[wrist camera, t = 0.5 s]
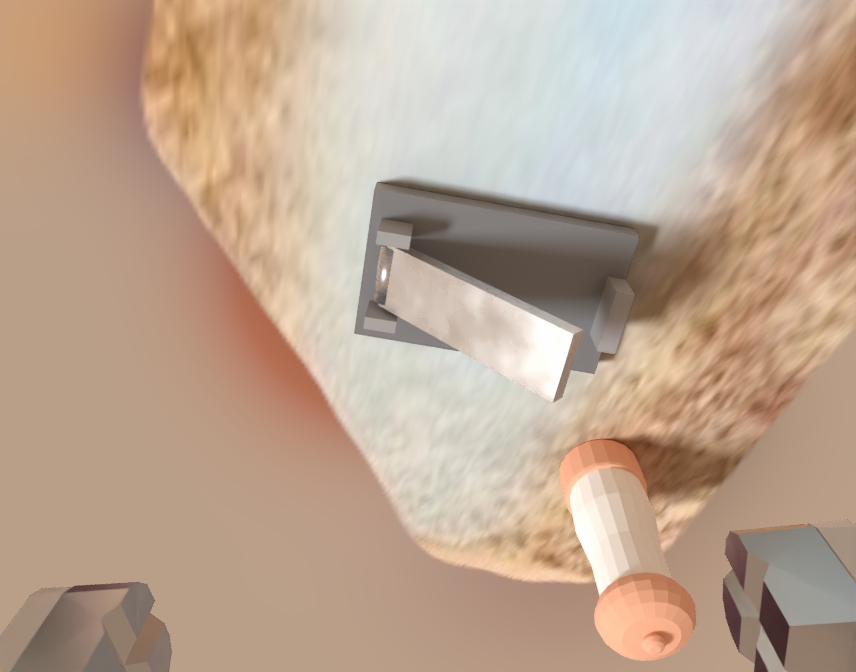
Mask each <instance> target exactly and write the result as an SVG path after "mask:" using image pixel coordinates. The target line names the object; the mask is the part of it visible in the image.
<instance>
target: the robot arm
mask: <svg viewBox="0 0 856 672" xmlns="http://www.w3.org/2000/svg"><path fill="white" fill-rule="evenodd" d="M725 555H726V557H727V559H728V561H729V563H730V565H731V567H732V570H731V571H730V572H729V573H728V574H727V575H726V576H725V578H724V579H723V603H724V609H725V615H726V620H727V623H728V626H729V629H730V632H731V635H732V637H733V640H734V642H735V644H736V647H737V649H738V651H739V653H741V654H742V655H743V656H745V657H746V658H748V659H749V660H750V661H752V662H753V663H754V664H755V666H754V672H856V524H855V523H853V522H851V521H850V520H838V521H828V522H818V523H808V524H807V525H805V524H800V525H790V526H779V527H769V528H758V529H747V530H737V531H730V532H729V534H728V536H727V538H726V548H725ZM154 602H155V600H154V597H153V596H152V594H151V592H150V589H149V587H148V585H147V584H144V583H140V582H129V583H112V584H95V585H78V586H73V587H58V588H41V589H40V590H38V591H36V592H35V593H33V594H31V595H30V596H29V597H28V599H27V600H26V601H25V603H24V604H23V606H22V607H21V608H20V610H19V611H18V612H17V614H16V615H15V616H14V618H13V619H12V620H11V622H10V623H9V625H8V626H7V627H6V629H5V630H4V632H3V633H2V634H1V636H0V672H169V669H170V661H171V654H172V649H171V643H170V635H169V633H168V630H167V628H166V625H165V624H164V623H163V622H162V621H161V620H159V619H158V618H156V617H155V616H154V615H152V614H151V613H150V611H151V609H152V606H153V604H154Z"/></svg>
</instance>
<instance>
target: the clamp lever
mask: <svg viewBox="0 0 856 672" xmlns="http://www.w3.org/2000/svg"><path fill="white" fill-rule="evenodd" d="M373 301H374V302H376V303H378V304H379V305H378V306H380V307H382V308H384V309H386V310H387V311H389V312H391V313H393V314H395V315H396V316H398V317H400V318H402V319H403V320H405V321H407V322H409V323H411V324H412V325H414V326H416V327H418V328H420V329H421V330H423V331H425V332H427V333H428V334H430V335H432V336H434V337H436V338H437V339H439V340H441V341H443V342H445V343H446V344H448V345H450V346H452V347H453V348H455V349H457V350H459V351H461V352H462V353H464V354H466V355H468V356H470V357H471V358H473V359H475V360H477V361H478V362H480V363H482V364H484V365H486V366H487V367H489V368H491V369H493V370H495V371H496V372H498V373H500V374H502V375H503V376H505V377H507V378H509V379H511V380H512V381H514V382H516V383H518V384H520V385H521V386H523V387H525V388H527V389H528V390H530V391H532V392H534V393H536V394H537V395H539V396H541V397H543V398H545V399H546V400H548V401H550V402H552V403H553V402H555V401H557V400H559V399H560V398H562V396H563V393H564V390H565V387H566V383H567V380H568V377H569V374H570V371H571V367H572V364H573V361H574V358H575V355H576V351H577V348H578V345H579V342H580V339H581V335H582V332H583V329H580V328H578V327H576V326H574V325H572V324H570V323H568V322H566V321H564V320H562V319H559V318H557V317H555V316H553V315H551V314H549V313H547V312H545V311H543V310H541V309H538V308H536V307H534V306H532V305H530V304H528V303H526V302H524V301H522V300H520V299H518V298H515V297H513V296H511V295H509V294H507V293H505V292H503V291H501V290H499V289H497V288H494V287H492V286H490V285H488V284H486V283H484V282H482V281H480V280H478V279H476V278H473V277H471V276H469V275H467V274H465V273H463V272H461V271H459V270H457V269H455V268H452V267H450V266H448V265H446V264H444V263H442V262H440V261H438V260H436V259H434V258H431V257H429V256H427V255H425V254H423V253H421V252H419V251H417V250H415V249H413V248H410V247H409V250H407V249H401V248H395V247H390V246H384V245H381V248H380V255H379V261H378V268H377V275H376V281H375V288H374V294H373Z"/></svg>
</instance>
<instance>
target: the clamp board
mask: <svg viewBox="0 0 856 672" xmlns="http://www.w3.org/2000/svg"><path fill="white" fill-rule="evenodd" d="M639 238H640V236H639V235H638V234H637V232H636V231H635V230H634V229H633V228H628V227H623V226H617V225H612V224H606V223H601V222H595V221H589V220H584V219H578V218H573V217H567V216H562V215H556V214H551V213H545V212H540V211H534V210H528V209H523V208H517V207H512V206H506V205H501V204H495V203H490V202H484V201H479V200H473V199H468V198H462V197H456V196H451V195H445V194H440V193H434V192H429V191H423V190H418V189H412V188H407V187H401V186H395V185H390V184H384V183H379V182H377V184H376V187H375V190H374V197H373V204H372V211H371V218H370V225H369V233H368V240H367V247H366V254H365V261H364V268H363V275H362V282H361V290H360V297H359V304H358V311H357V318H356V325H355V332H354V334H360V335H366V336H371V337H377V338H383V339H389V340H395V341H401V342H407V343H413V344H419V345H425V346H431V347H437V348H443V349H449V350H455V351H459V350H457V349H455V348H453V347H452V346H450V345H448V344H446V343H445V342H443V341H441V340H439V339H437V338H436V337H434V336H432V335H430V334H428V333H427V332H425V331H423V330H421V329H420V328H418V327H416V326H414V325H412V324H411V323H409V322H407V321H405V320H403V319H402V318H400V317H398V316H396V315H395V314H393V313H391V312H389V311H387V310H386V309H384V308H382V307H380V306H378V305H379V304H378V303H376V302H374V301H373V294H374V288H375V281H376V275H377V268H378V261H379V255H380V248H381V245H384V246H390V247H395V248H401V249H407V250H409V247H410V248H413V249H415V250H417V251H419V252H421V253H423V254H425V255H427V256H429V257H431V258H434V259H436V260H438V261H440V262H442V263H444V264H446V265H448V266H450V267H452V268H455V269H457V270H459V271H461V272H463V273H465V274H467V275H469V276H471V277H473V278H476V279H478V280H480V281H482V282H484V283H486V284H488V285H490V286H492V287H494V288H497V289H499V290H501V291H503V292H505V293H507V294H509V295H511V296H513V297H515V298H518V299H520V300H522V301H524V302H526V303H528V304H530V305H532V306H534V307H536V308H538V309H541V310H543V311H545V312H547V313H549V314H551V315H553V316H555V317H557V318H559V319H562V320H564V321H566V322H568V323H570V324H572V325H574V326H576V327H578V328H580V329H583V332H582V335H581V339H580V342H579V345H578V348H577V351H576V355H575V358H574V361H573V364H572V367H571V370H574V371H580V372H586V373H592V374H595V371H596V368H597V364H598V361H599V358H600V355H601V352H604V353H610V354H615V353H616V350H617V347H618V344H619V341H620V338H621V335H622V333H623V330H624V327H625V324H626V321H627V318H628V315H629V312H630V309H631V306H632V303H633V300H634V297H635V294H634V292H633V290H632V289H631V287H630V286H629V284H628V282H627V281H626V277H627V274H628V271H629V268H630V265H631V262H632V259H633V256H634V253H635V250H636V247H637V244H638V241H639Z"/></svg>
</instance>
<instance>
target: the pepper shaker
mask: <svg viewBox="0 0 856 672" xmlns="http://www.w3.org/2000/svg"><path fill="white" fill-rule="evenodd" d="M559 475H560V482H561V486H562V491H563V495H564V499H565V504H566V506H567V508H568V510H569V511H570V513H571V514H572V515H573V519H574V525H575V530H576V534H577V536H578V538H579V540H580V542H581V544H582V547H583V549H584V551H585V553H586V555H587V557H588V559H589V561H590V563H591V565H592V569H593V573H594V577H595V580H596V584H597V588H598V592H599V595H600V597H599V600H598V603H597V606H596V609H595V615H594V618H595V625H596V628H597V630H598V632H599V634H600V635H601V637H602V638H603V639H604V641H605V643H606V644H607V645H608V646H610V647H611V648H612V649H613V650H615V651H616V652H618V653H619V654H621V655H622V656H625V657H627V658H630V659H633V660H642V661H648V660H657V659H661V658H664V657H667V656H670V655H672V654H674V653H676V652H677V651H679V650H681V649H682V648H683V647H684V646H685V645H686V644H687V643H688V641H689V640H690V637H691V635H692V633H693V630H694V628H695V625H696V611H695V604H694V602H693V600H692V598H691V596H690V594H689V593H688V592H687V591H686V590H685V589H684V588H683V587H682V586H680V585H679V584H678V583H677V582H676V581H674V580H673V579H672V577H671V574H670V572H669V569H668V566H667V564H666V561H665V558H664V556H663V553H662V550H661V546H660V540H659V534H658V528H657V523H656V517H655V513H654V510H653V508H652V506H651V504H650V502H649V499H648V497H647V495H648V492H647V483H646V481H645V478H644V476H643V473H642V471H641V468H640V466H639V464H638V461H637V459H636V457H635V455H634V453H633V452H632V451H631V450H630V449H629V448H627V447H626V446H625V445H623V444H621V443H618V442H616V441H613V440H604V439H600V440H593V441H588V442H585V443H583V444H581V445H578V446H576V447H575V448H574V449H573V450H571V451H570V452H569V453H568V454H567V455H566V457H565V458H564V460H563V461H562V463H561V467H560V470H559Z"/></svg>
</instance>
